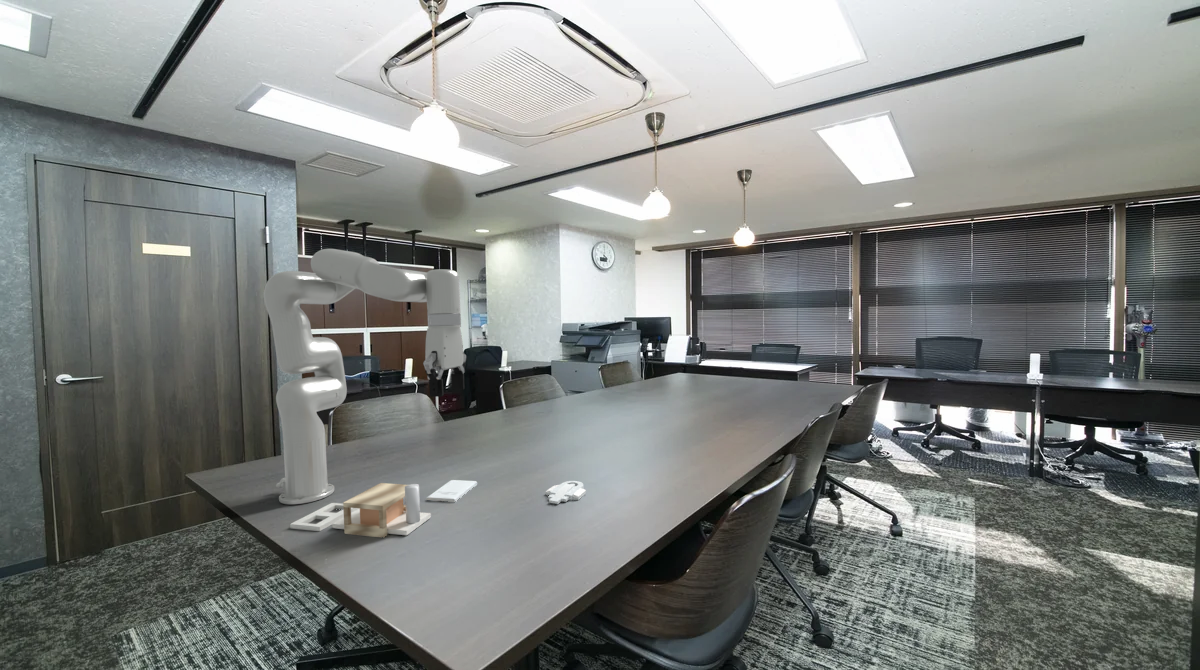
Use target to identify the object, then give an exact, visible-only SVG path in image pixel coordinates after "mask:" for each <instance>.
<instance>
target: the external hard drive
mask: <svg viewBox="0 0 1200 670" xmlns="http://www.w3.org/2000/svg"><path fill="white" fill-rule="evenodd" d="M477 485H478V482H477V481H476V480H461V479H450V480H449V481H447V482H446V483H445V484H443V485H442V486H441V487H439V488H438V489H436V490H435V491H434V492H433V493H431V494H429V495H427V496H426V498H425V500H433V501H432V502H443V501H448V502H447V503H454V502H455V501H456V502H458V501H459V500H460V499H461V498H463V497H464V496H465V495H466V494H468V493H469V492H470V491H472V490H473V489H474V488H475V487H476V486H477ZM473 487H474V488H473ZM472 488H473V489H472ZM469 490H470V491H469ZM468 491H469V492H468ZM467 492H468V493H467ZM464 494H465V495H464ZM463 495H464V496H463ZM462 496H463V497H462ZM459 498H460V499H459ZM458 499H459V500H458ZM457 500H458V501H457ZM456 502H455V503H456Z"/></svg>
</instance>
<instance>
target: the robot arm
mask: <svg viewBox="0 0 1200 670" xmlns="http://www.w3.org/2000/svg"><path fill="white" fill-rule="evenodd" d="M310 268H311V271H313V272H309V271H301V270H298V271H297V270H287V271H280V272H277V273H275V274H273V275H272V276H271V277H270V278H269V279H268V280H267V282H266V283H265V287H264V291H263V300H264V301H263V302H264V306H265V308H266V311H267V314H268V317H269V320H270V323H271V327H272V335H273V340H274V341H273V342H274V349H275V353H276V359H277V364H278V367H279V369H280V371H282V372H283V373H285V374H287V375H288V374H289V375H301V374H306V373H314V376H311V377H310V376H308V377H305V378H298V379H293V380H290V381H287V382H285V383H284V384H282V385H281V386H280V387H279V388H278V390H277V392H276V396H275V401H276V405H277V409H278V414H279V417H280V421H281V422H280V423H281V429H282V442H283V443H282V444H283V461H284V477H282V478H281V479H280V480H279V482H277V483H276V484H275V486H276V487H275V488H279V489H281V488H282V493H281V494H280V495H279V496H278V500H279V503H281V504H284V505H301V504H307V503H313V502H315V501H318V500H319V501H320V500H322V499H324V498H327V497H329V496H330V495H332V494H333V493H334V492H335V485H333V484H331V483H328V468H327V467H328V466H327V446H326V428H325V425H324V423H323V421H322V419H321V418H320V417H319V415H318V413H317V412H320V411H324V410H330V409H333V408H335V407H338V406H340V405H342V404H343V403H344V401H345V400H346V397H347V392H348V389H347V382H346V381H347V380H346V379H347V378H346V373H345V372H346V371H345V367H344V359H343V353H342V352H341V348H340V347H339V345H338V344H337V343H336V341H335V340H333V339H331V338H329V337H324V336H319V337H318V336H317V337H316V336H315V337H313V332H312V328H311V322H310V319H309V317H308V315H307V314H306V313H305V312H304V310H303V309H302V308H301V307H300V306H299V305H303V304H306V305H331V304H334V303H337V302H339V301H340V300H342V299H344V297H346V296H348V295H349V294H350V293H351V292H353V291H355V290H360V291H361V292H362V293H364V294H367V295H369V296H372V297H376V298H381V299H383V300H389V301H393V302H402V303H403V302H405V303H406V302H409V303H411V302H412V303H426V308H427V329H426V334H425V335H426V336H425V352H424V353H425V356H424V357H425V360H424V361H423V363H422V364H423V366H424V370H425V372H424V373H425V374H426V376H427V380H428V385H429V397H432V398H433V397H434V398H435V397H436V398H438V397H440V398H441V397H444V395H445V394H444V379H443V378H442V376H443V373H444V371H446V370H451V372H452V373H451V374H450V377H451V389H452V390H453V391H455V390H458V391H459V390H461V391H463V390H465V374H464V373H465V372H466V370H465V368H466V361H467V355H466V354H465V352H464V344H463V337H462V331H461V328H462V319H461V318H462V317H461V296H460V295H461V293H460V278H459V277H460V276H459V273H458V272H457V271H456V270H453V269H442V268H441V269H440V268H439V269H438V268H437V269H431V270H428V271H427V272H425V271H419V270H411V269H403V268H396V267H393V266H389V265H388V266H387V265H384V264H383V265H382V264H379V262H378V261H377V260H376V259H375V258H372V257H369V256H365V255H364V254H363V255H362V254H361V253H358V252H355V251H350V250H349V251H348V250H343V249H336V248H323V249H320V250H318V251H317V252H315V253H313V255H312V257H311V259H310Z"/></svg>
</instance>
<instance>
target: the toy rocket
mask: <svg viewBox="0 0 1200 670" xmlns="http://www.w3.org/2000/svg"><path fill="white" fill-rule="evenodd" d="M586 494H587V490H586V489H585V488H584V483H583V482H582V481H577V480H568V481H564V482H561V483H560V484H557V485H556V484H555V485H553V486H551V487H550V488H548V489H547V490H545V495H546V496H547V499H548V503H550V504H556V505H558V504H560V503H561V502H564V503H566V502H568V501H573V500H574V501H579V500H580V499H581V498H582V497H584V496H585V495H586ZM548 495H549V496H548Z"/></svg>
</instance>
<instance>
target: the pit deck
mask: <svg viewBox="0 0 1200 670" xmlns="http://www.w3.org/2000/svg"><path fill="white" fill-rule="evenodd" d="M336 509H337V510H336ZM339 509H340V510H341V509H343V503H340V502H331V503H329V504H327V505H325V506H323V507H321V508H319V509H317V510H315V511H312V512H311V513H309V514H307V515H305V516H304V517H303V516H302V517H301V518H299V519H297V520H295V521H293V522H292V523H290V524H289V525H290V527H289V528H290V529H294V530H305V531H315V532H321V531H323V530H325V529H326V528H328V527H330V526H331V525H332V526H333V523H335V522H336V521H338V520H340V519H342V518H343V517H344V510H341V511H340V510H339ZM358 509H359V508H351V513H352V512H354V511H356V510H358Z"/></svg>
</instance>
